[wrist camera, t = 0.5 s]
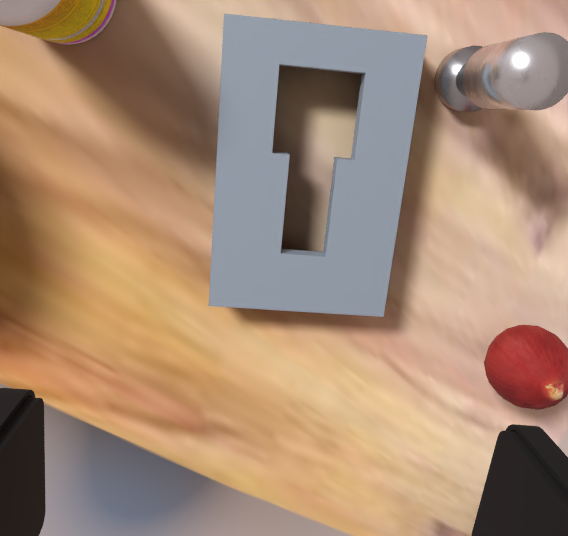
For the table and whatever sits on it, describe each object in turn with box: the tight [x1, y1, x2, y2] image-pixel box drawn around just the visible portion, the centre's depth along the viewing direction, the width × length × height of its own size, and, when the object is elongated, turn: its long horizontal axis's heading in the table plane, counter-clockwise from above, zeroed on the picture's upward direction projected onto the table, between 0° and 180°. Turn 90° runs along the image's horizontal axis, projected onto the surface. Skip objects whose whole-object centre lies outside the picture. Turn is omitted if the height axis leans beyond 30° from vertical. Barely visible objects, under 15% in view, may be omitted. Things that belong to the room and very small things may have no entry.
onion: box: [484, 325, 568, 409], centre depth 38 cm, size 6×6×8 cm
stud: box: [435, 32, 568, 111], centre depth 31 cm, size 4×4×10 cm
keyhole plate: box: [209, 14, 427, 317], centre depth 35 cm, size 18×12×3 cm, turn 175°
